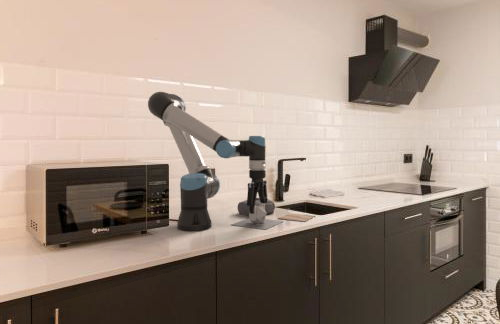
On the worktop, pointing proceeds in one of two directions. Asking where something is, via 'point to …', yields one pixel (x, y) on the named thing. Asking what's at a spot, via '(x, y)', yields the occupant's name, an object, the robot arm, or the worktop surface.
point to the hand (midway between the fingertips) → (257, 218)
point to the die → (259, 215)
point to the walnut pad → (296, 217)
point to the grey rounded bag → (245, 209)
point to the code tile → (265, 225)
